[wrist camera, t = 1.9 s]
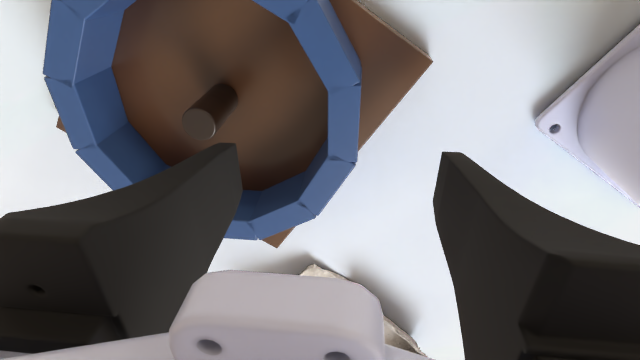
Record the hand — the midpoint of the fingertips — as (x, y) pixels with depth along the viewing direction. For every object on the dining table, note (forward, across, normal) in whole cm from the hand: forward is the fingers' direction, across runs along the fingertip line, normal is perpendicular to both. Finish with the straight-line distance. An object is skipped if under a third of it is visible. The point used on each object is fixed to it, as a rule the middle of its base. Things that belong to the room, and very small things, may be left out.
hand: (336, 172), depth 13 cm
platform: (+8, +6, 0) cm, 10 cm away
